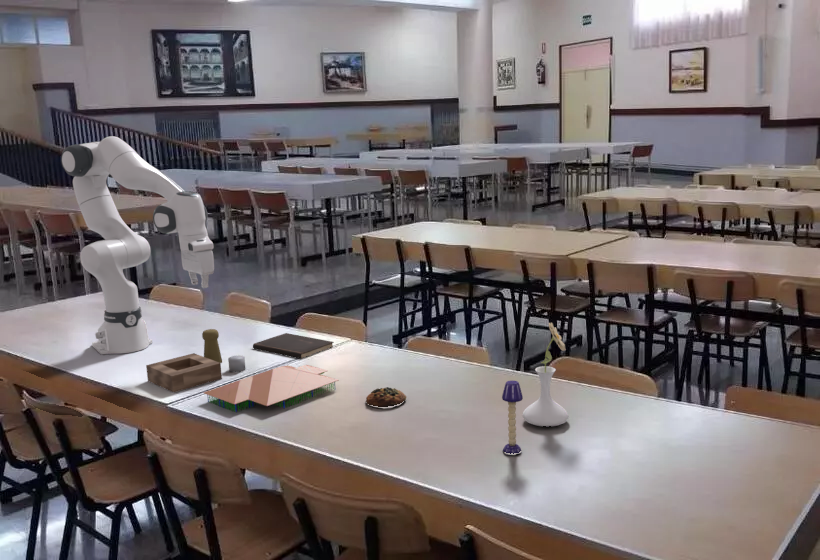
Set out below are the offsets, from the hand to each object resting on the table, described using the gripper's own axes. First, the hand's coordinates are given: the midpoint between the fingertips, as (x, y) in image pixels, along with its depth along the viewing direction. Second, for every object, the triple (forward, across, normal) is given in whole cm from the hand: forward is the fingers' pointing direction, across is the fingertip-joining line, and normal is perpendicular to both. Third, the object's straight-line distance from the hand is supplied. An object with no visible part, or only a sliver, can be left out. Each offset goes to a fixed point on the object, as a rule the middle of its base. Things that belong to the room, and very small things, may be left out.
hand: (200, 286), depth 248 cm
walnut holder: (+26, +10, -12) cm, 30 cm away
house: (+28, +40, +4) cm, 50 cm away
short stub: (+26, +12, +4) cm, 29 cm away
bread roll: (+30, +66, +25) cm, 76 cm away
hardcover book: (+27, +1, +29) cm, 40 cm away
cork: (+26, -1, +1) cm, 26 cm away
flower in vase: (+32, +103, +49) cm, 118 cm away
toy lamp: (+32, +111, +31) cm, 120 cm away
